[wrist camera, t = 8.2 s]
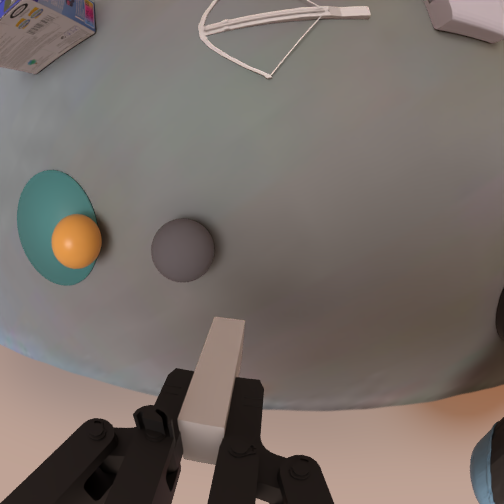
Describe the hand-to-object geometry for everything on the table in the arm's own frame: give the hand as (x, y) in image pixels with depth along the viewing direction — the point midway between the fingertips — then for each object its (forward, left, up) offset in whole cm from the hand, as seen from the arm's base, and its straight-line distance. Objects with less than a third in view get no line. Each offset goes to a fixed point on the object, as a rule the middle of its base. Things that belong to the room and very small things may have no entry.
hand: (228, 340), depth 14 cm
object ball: (+12, +12, -11) cm, 21 cm away
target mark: (+16, +16, -14) cm, 27 cm away
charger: (+7, -39, -15) cm, 42 cm away
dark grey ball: (+4, +4, -11) cm, 13 cm away
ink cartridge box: (+33, 0, -14) cm, 36 cm away
